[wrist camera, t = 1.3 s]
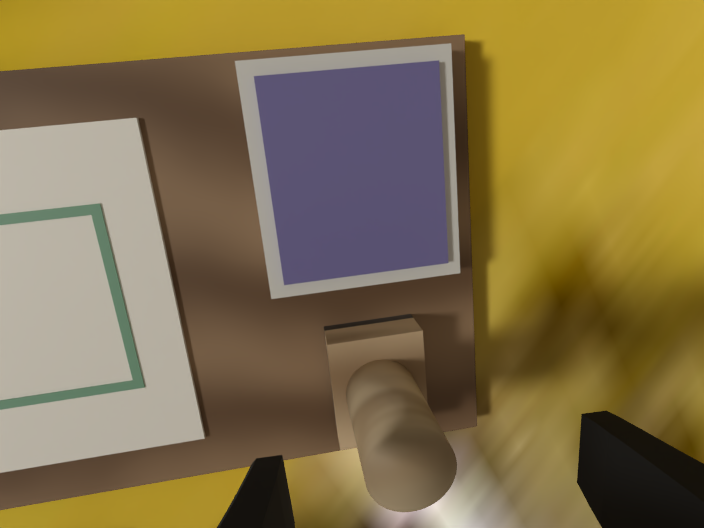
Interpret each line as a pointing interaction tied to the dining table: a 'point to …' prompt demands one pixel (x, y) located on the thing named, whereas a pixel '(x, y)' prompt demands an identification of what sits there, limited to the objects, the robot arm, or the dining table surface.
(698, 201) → the dining table surface
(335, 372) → the stamp
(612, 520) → the robot arm
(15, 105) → the desk board
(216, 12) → the dining table surface
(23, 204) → the paper
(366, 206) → the ink pad
